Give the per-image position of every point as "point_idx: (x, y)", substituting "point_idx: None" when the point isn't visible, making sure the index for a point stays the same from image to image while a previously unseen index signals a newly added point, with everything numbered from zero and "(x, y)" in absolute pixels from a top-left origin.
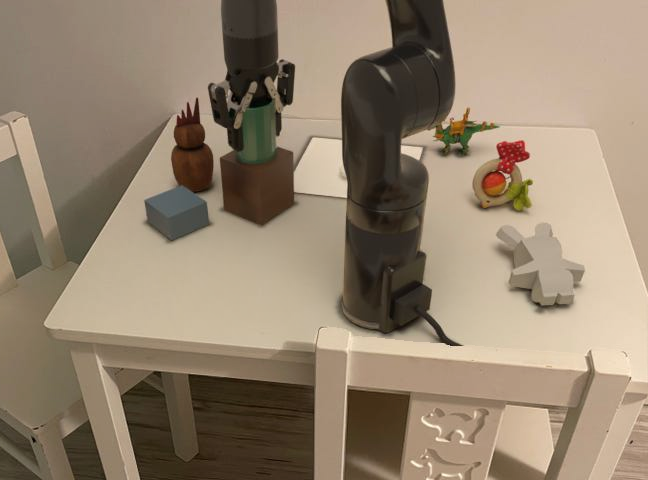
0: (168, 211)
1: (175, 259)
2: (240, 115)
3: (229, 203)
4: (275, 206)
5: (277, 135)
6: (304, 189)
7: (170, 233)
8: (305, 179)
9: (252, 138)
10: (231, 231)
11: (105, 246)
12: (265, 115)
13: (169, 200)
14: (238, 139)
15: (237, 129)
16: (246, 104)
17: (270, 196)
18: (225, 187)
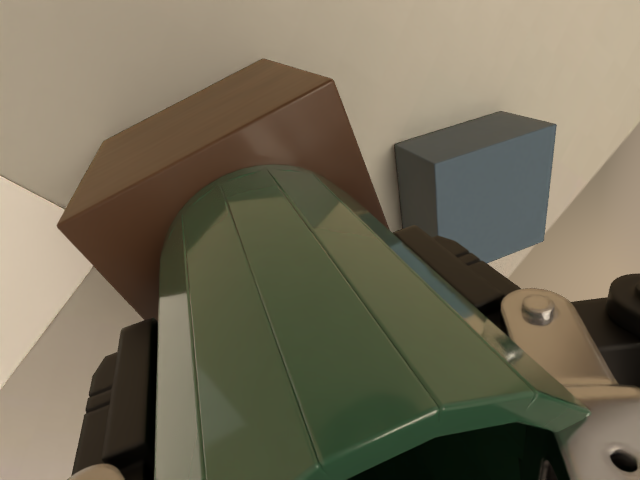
0: (537, 158)
1: (538, 14)
2: (563, 369)
3: None
4: (200, 96)
5: (141, 322)
6: (31, 220)
7: (516, 115)
8: (9, 280)
9: (386, 234)
10: (359, 76)
11: (600, 157)
12: (355, 339)
13: (504, 215)
14: (454, 256)
15: (498, 296)
16: (607, 470)
17: (231, 93)
18: None
